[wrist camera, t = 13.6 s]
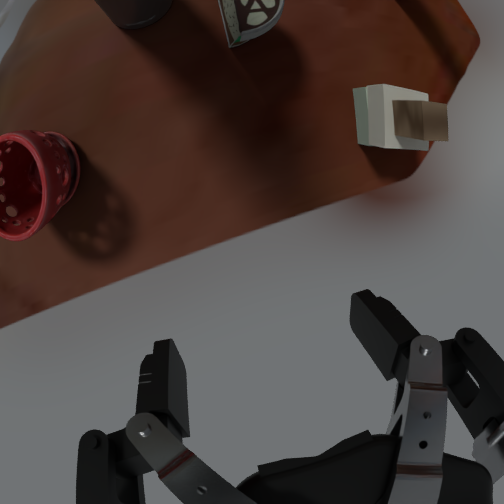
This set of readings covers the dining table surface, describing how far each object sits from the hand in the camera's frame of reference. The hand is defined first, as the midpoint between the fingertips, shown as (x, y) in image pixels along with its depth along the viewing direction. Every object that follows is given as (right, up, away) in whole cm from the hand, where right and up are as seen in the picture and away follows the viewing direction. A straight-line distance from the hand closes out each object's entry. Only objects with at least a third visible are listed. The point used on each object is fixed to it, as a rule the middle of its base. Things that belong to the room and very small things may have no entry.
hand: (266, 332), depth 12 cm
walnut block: (+21, +22, +19) cm, 36 cm away
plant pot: (-30, +15, +20) cm, 40 cm away
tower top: (+20, +24, +23) cm, 39 cm away
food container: (-2, +36, +17) cm, 39 cm away
